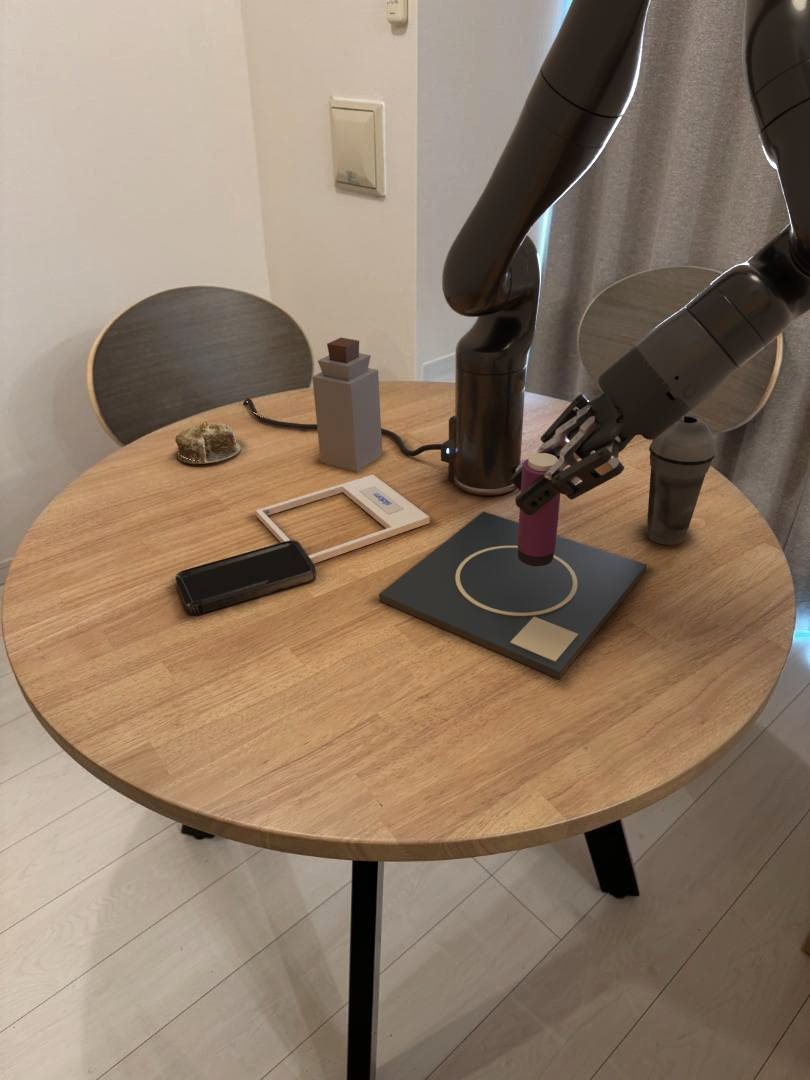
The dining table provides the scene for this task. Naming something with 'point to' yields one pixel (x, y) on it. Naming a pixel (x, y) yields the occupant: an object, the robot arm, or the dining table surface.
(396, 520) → the photo frame
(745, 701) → the dining table surface
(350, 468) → the perfume bottle
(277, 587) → the phone
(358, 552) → the dining table surface
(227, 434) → the cake
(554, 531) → the dot marker
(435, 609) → the slate board
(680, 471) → the beverage cup
